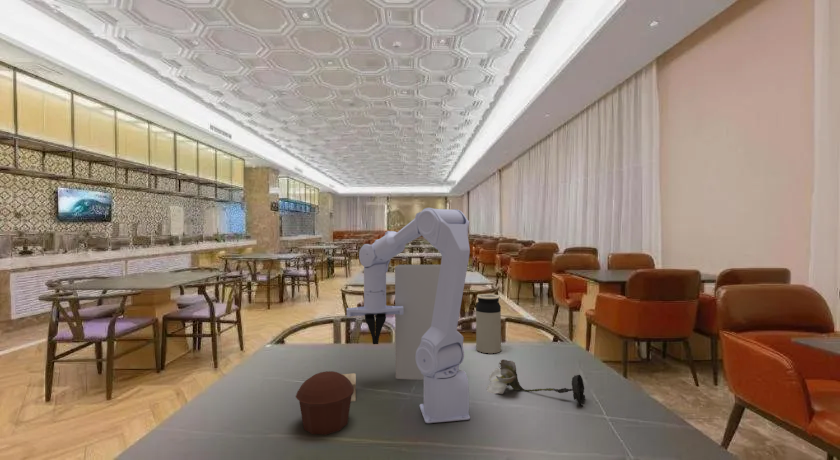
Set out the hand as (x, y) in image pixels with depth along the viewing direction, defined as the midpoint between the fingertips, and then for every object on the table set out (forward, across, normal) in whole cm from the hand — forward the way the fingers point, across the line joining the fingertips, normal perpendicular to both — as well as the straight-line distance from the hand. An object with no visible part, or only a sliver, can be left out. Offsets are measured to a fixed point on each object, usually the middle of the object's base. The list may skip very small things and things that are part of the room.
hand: (375, 343), depth 99 cm
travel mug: (+11, -38, -21) cm, 45 cm away
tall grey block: (+11, -13, -3) cm, 17 cm away
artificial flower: (+11, -36, +14) cm, 40 cm away
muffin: (+11, +11, +19) cm, 24 cm away
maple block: (+9, +5, +6) cm, 12 cm away
